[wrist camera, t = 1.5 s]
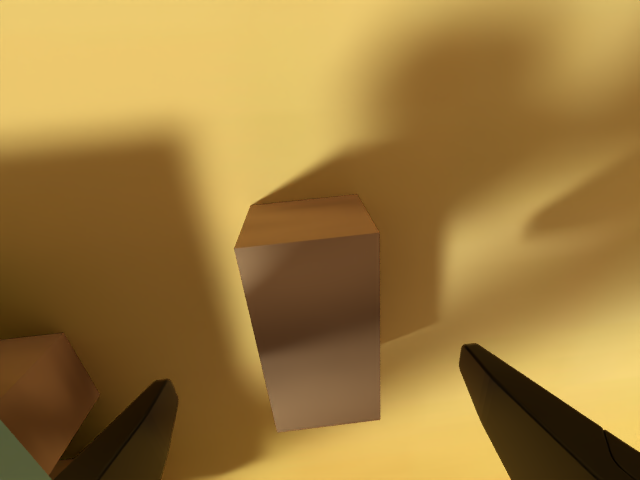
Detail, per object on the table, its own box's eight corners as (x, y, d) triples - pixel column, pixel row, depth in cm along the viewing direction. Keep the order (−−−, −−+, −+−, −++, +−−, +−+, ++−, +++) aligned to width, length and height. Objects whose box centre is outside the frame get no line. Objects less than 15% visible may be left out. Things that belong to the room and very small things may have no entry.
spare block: (362, 348, 16) (380, 419, 12) (281, 358, 15) (277, 432, 12) (356, 192, 12) (379, 232, 9) (251, 203, 12) (234, 248, 9)
